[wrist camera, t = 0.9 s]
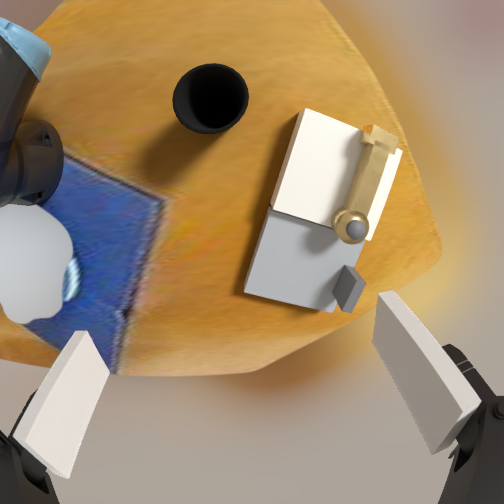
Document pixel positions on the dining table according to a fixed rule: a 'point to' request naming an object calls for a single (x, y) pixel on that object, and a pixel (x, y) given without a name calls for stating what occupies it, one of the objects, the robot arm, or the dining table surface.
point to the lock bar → (365, 181)
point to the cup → (210, 98)
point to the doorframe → (315, 219)
